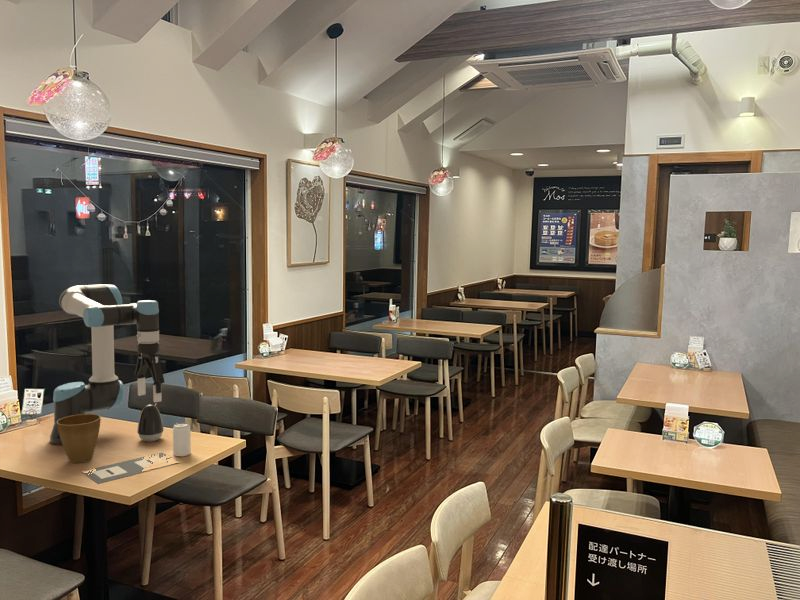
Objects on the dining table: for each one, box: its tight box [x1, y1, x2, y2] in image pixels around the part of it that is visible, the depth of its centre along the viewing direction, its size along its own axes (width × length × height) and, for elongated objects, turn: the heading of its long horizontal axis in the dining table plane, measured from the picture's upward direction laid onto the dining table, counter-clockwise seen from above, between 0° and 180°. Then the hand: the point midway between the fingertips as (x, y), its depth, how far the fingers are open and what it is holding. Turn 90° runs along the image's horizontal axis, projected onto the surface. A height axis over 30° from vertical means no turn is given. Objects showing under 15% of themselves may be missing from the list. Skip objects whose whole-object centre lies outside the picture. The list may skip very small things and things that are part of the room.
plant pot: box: [57, 413, 102, 464], centre depth 236 cm, size 15×15×16 cm
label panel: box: [83, 452, 172, 485], centre depth 230 cm, size 16×30×1 cm, turn 136°
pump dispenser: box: [137, 402, 165, 443], centre depth 261 cm, size 10×10×15 cm
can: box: [172, 422, 192, 457], centre depth 244 cm, size 6×6×12 cm
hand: (149, 398), depth 233 cm, fingers open, 13 cm apart
